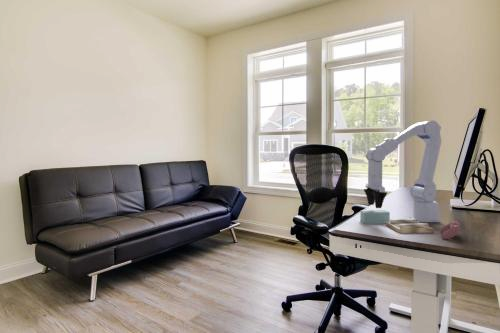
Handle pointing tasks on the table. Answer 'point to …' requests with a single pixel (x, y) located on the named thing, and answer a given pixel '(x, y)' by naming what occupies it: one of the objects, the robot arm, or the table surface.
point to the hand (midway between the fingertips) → (374, 206)
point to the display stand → (409, 226)
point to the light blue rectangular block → (374, 216)
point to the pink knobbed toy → (450, 230)
